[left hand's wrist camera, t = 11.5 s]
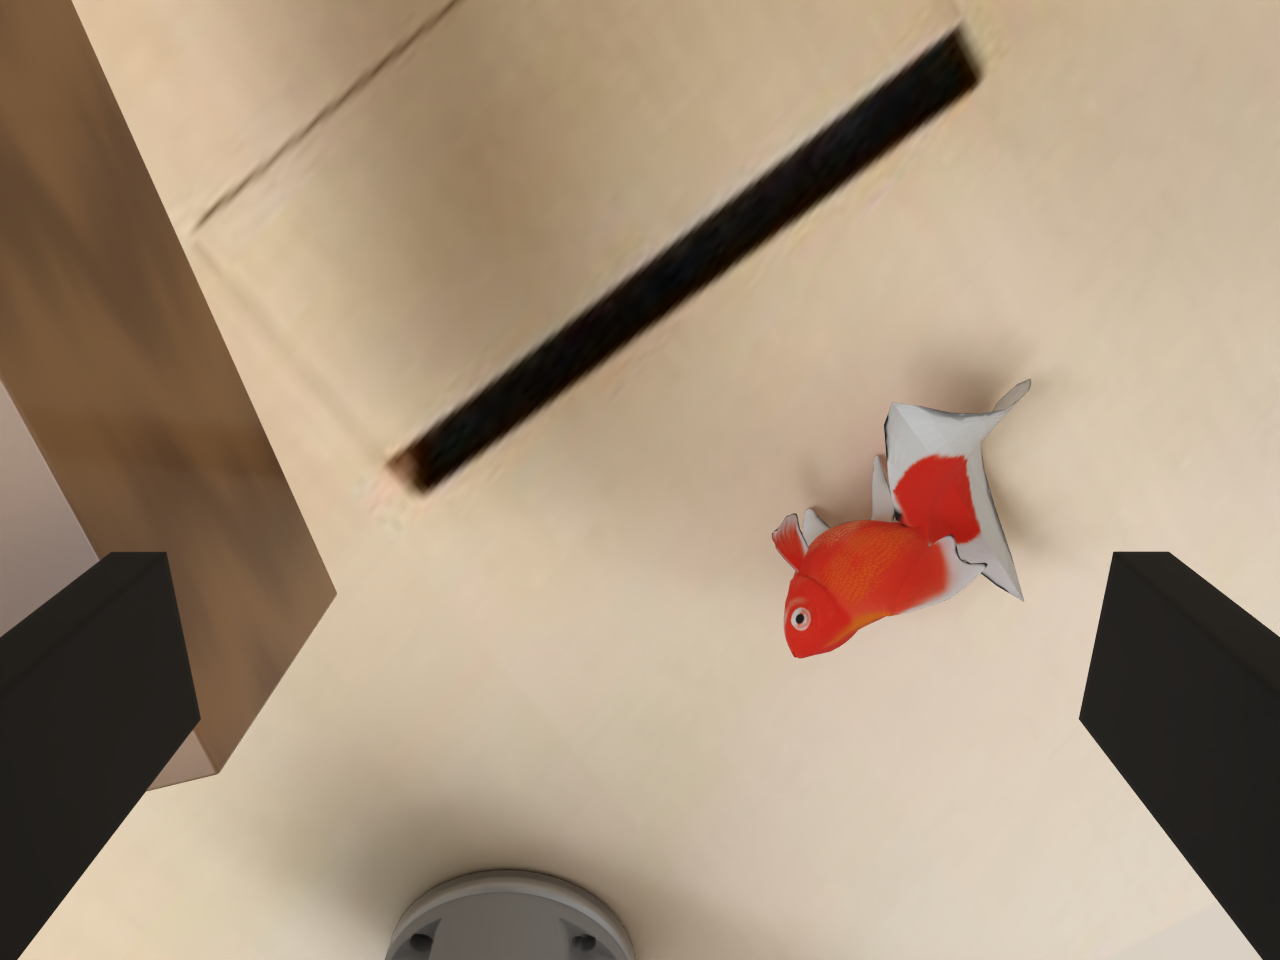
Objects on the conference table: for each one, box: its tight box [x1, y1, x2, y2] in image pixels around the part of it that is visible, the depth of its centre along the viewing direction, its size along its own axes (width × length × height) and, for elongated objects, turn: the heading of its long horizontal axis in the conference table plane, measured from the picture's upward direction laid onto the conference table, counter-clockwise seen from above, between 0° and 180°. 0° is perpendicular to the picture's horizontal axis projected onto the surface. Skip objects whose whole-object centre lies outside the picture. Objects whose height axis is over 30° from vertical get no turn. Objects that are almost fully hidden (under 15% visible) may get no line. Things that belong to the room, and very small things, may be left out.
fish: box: [772, 379, 1031, 658], centre depth 40 cm, size 11×16×10 cm
